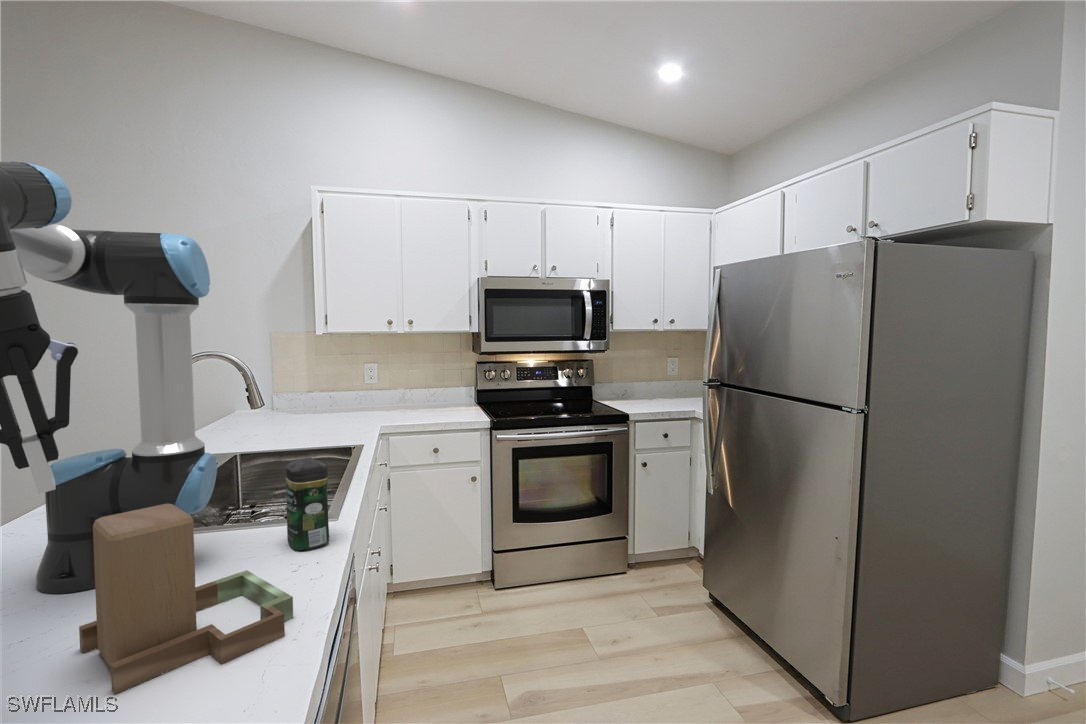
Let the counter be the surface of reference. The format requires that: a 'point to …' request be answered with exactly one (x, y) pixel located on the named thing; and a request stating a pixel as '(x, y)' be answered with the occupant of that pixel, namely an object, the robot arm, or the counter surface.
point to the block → (143, 579)
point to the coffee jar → (307, 504)
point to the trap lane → (204, 632)
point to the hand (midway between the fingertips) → (47, 486)
